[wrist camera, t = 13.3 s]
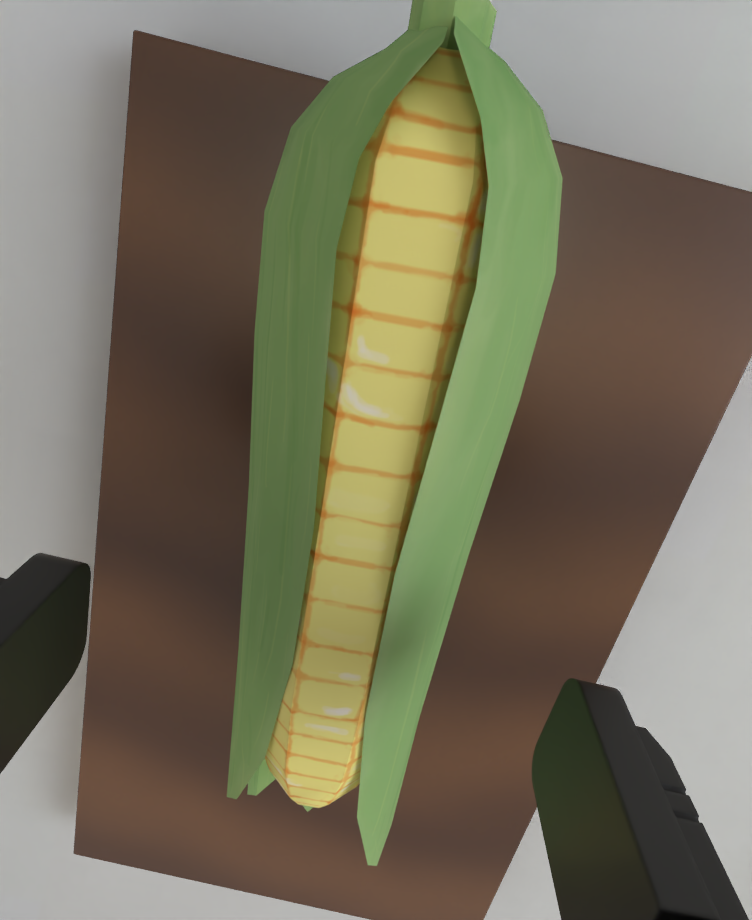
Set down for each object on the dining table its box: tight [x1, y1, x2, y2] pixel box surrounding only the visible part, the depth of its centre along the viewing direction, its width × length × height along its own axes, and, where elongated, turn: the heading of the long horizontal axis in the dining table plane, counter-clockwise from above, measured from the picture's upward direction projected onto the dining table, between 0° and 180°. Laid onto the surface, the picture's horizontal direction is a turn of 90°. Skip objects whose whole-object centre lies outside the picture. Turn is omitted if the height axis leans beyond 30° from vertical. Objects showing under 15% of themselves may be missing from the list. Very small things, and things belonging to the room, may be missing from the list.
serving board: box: [74, 30, 752, 920], centre depth 17 cm, size 24×14×2 cm, turn 167°
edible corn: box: [227, 0, 563, 866], centre depth 13 cm, size 5×20×4 cm, turn 170°
